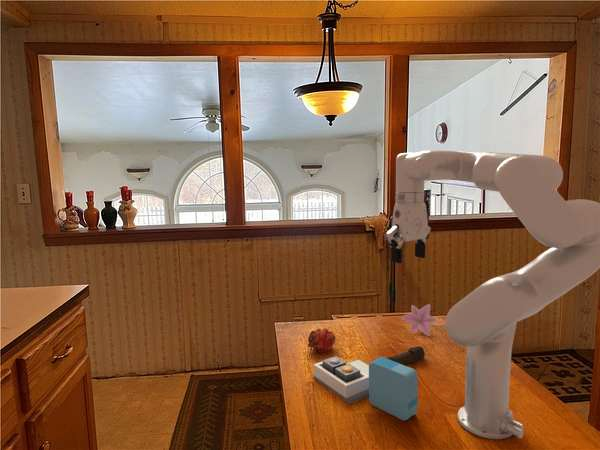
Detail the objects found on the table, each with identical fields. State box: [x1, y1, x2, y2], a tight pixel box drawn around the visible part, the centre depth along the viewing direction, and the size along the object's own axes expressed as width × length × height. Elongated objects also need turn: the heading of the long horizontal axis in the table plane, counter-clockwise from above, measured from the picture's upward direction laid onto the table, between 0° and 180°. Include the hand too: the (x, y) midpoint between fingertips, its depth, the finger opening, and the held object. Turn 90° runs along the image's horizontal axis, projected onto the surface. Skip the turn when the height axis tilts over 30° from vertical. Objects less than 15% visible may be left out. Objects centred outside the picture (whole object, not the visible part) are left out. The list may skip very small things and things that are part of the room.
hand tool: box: [385, 345, 425, 366], centre depth 128 cm, size 19×4×5 cm, turn 115°
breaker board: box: [312, 358, 369, 405], centre depth 119 cm, size 17×18×4 cm
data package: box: [368, 356, 419, 421], centre depth 104 cm, size 12×4×12 cm, turn 42°
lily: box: [400, 303, 438, 337], centre depth 155 cm, size 12×12×10 cm
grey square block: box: [322, 355, 348, 375], centre depth 119 cm, size 5×5×3 cm
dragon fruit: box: [307, 328, 337, 354], centre depth 140 cm, size 8×8×12 cm
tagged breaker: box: [335, 364, 360, 383], centre depth 114 cm, size 5×5×3 cm
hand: (408, 259), depth 113 cm, fingers open, 9 cm apart
